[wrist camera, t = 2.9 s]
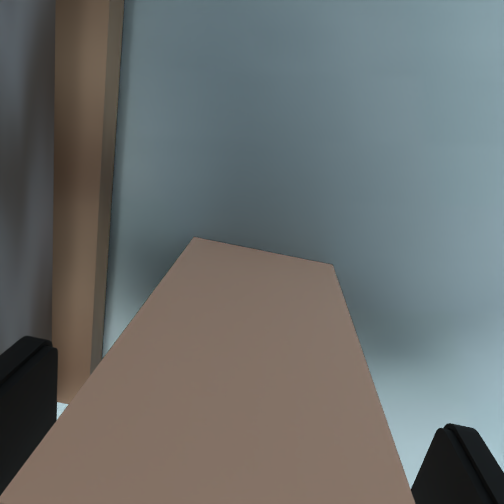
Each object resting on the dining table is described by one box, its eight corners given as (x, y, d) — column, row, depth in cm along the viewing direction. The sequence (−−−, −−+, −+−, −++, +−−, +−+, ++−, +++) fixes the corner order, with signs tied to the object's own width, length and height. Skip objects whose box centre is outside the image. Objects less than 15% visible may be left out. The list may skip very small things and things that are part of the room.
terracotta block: (193, 236, 14) (-4, 501, 4) (332, 264, 14) (447, 594, 4) (177, 355, 15) (8, 733, 6) (300, 379, 15) (331, 801, 6)
